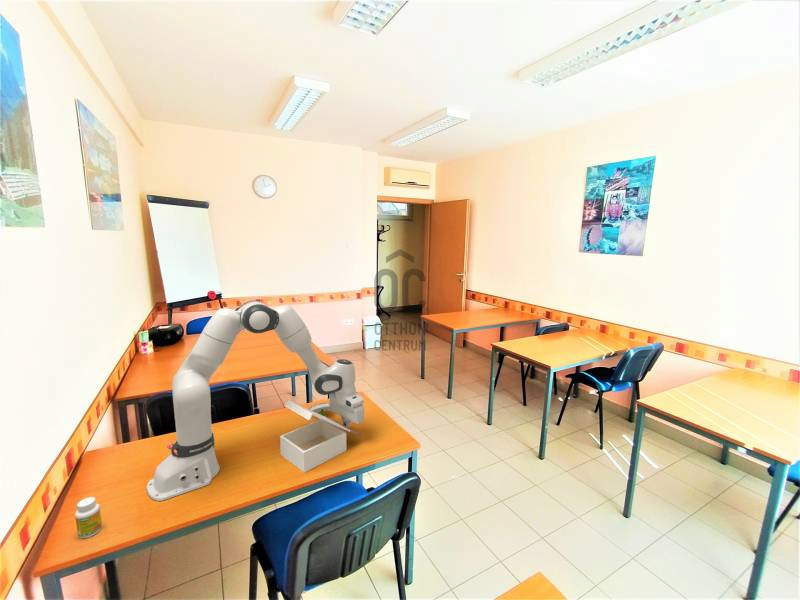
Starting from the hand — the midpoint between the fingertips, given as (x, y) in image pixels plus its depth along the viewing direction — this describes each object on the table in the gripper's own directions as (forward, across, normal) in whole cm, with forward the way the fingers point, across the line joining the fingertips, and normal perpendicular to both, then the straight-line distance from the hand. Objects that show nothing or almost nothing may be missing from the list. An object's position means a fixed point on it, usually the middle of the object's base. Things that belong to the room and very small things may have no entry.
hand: (346, 425), depth 156 cm
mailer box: (+5, 0, -17) cm, 18 cm away
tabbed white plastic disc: (+5, -25, +4) cm, 26 cm away
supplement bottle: (+4, -14, -85) cm, 86 cm away
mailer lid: (-6, 0, -12) cm, 13 cm away
